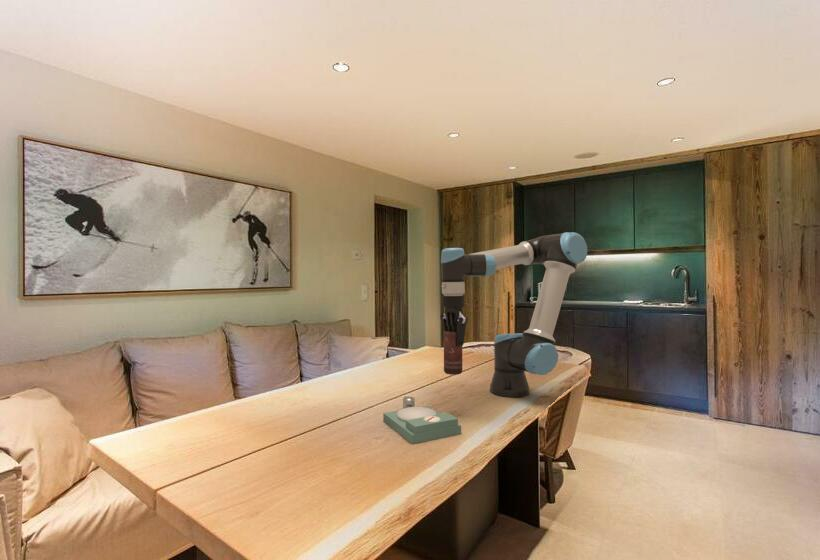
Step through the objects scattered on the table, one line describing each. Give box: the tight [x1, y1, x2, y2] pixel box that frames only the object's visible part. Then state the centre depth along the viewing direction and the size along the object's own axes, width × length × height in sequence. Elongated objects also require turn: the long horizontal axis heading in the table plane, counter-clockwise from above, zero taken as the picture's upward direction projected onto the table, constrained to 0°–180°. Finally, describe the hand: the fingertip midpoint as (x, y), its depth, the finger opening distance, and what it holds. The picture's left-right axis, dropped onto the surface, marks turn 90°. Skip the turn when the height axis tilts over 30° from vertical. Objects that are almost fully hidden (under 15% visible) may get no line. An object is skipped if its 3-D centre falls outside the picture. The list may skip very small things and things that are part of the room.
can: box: [443, 330, 463, 376], centre depth 134 cm, size 6×6×14 cm
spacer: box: [402, 396, 416, 409], centre depth 139 cm, size 4×4×4 cm
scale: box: [383, 405, 462, 445], centre depth 123 cm, size 16×20×5 cm
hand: (454, 366), depth 134 cm, fingers closed
